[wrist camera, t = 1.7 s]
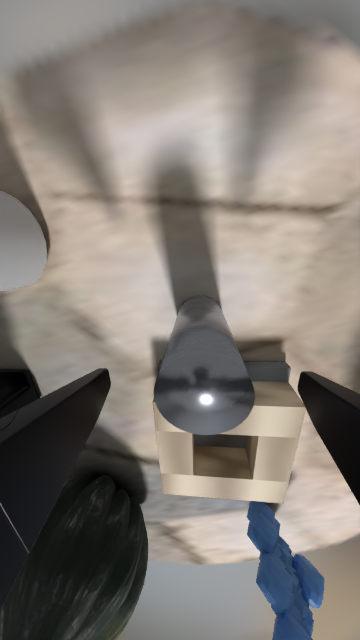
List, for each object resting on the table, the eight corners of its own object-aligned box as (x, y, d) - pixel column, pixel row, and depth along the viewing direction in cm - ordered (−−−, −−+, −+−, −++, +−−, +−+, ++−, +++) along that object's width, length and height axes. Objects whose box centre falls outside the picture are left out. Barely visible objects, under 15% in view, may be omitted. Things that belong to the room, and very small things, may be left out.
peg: (179, 337, 18) (158, 432, 8) (177, 296, 16) (149, 353, 7) (221, 337, 17) (250, 437, 8) (223, 295, 16) (260, 354, 7)
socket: (169, 463, 24) (164, 502, 20) (160, 360, 19) (150, 387, 15) (267, 469, 23) (281, 512, 19) (285, 361, 18) (309, 391, 14)
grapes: (305, 529, 26) (388, 742, 15) (256, 534, 27) (297, 732, 16) (283, 475, 23) (369, 694, 11) (230, 484, 24) (258, 687, 13)
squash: (98, 595, 26) (78, 842, 12) (5, 544, 25) (-136, 758, 11) (156, 485, 32) (187, 571, 18) (83, 437, 30) (54, 491, 17)
